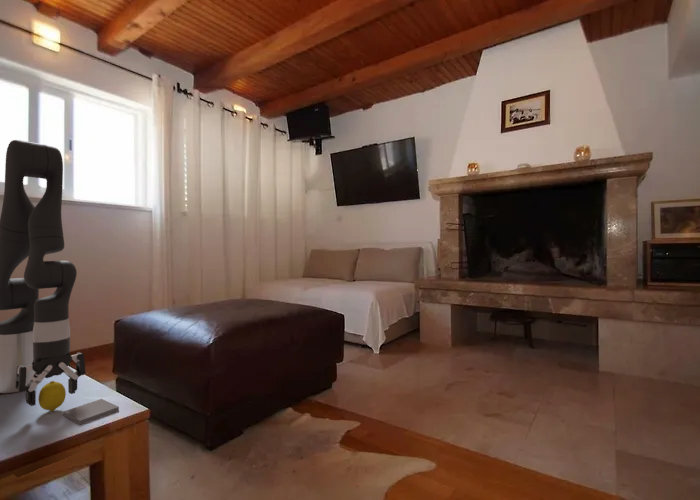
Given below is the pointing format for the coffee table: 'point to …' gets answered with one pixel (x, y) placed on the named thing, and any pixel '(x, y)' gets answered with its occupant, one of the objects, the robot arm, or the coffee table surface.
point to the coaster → (90, 411)
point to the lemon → (52, 396)
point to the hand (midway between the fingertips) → (52, 398)
